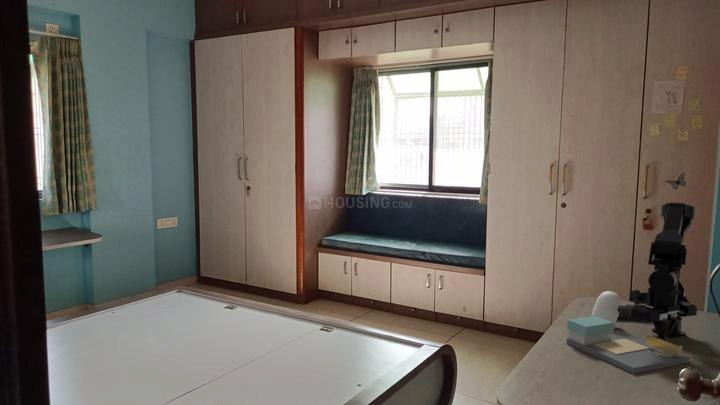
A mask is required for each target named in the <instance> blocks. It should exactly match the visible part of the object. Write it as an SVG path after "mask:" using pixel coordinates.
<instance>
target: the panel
mask: <svg viewBox="0 0 720 405" xmlns="http://www.w3.org/2000/svg"><path fill="white" fill-rule="evenodd" d="M646 342H647V339H646V340H645V339H644V338H640V337H638V336H635V335H632V334H630V333H627V332H625V331H622V330H620V329H617V330H613V333H606V334H600V335H594V336H587V337H584V336H582V335H580V334H577V333H575V332H572V331H570V330H568V337H566V342H565V343H566V345H570V346H571V347H573V348H576V349H578V350H580V351H582V352H584V353H587V354H589V355H591V356H593V357H596V358H598V359H600V360H601V361H605V362H606V363H609V364H611V365H613V366H615V367H618V368H620V369H622V370H624V371H625V372H628V373H631V374H632V375H635V374H638V373H644V372H648V371H655V370H659V369H660V370H661V369H665V368H670V367H673V365H674V366H676V365H677V364H678V365H681V364H680V363H682V362H685V363H687V362H686V361H689V362H690V356H689V355H685V354H683V353H682V356H679V357H677V356H675V355H672V354H670V353H667V354H661V353H659V349H657V348H654V347H651V346H649V345H646ZM682 364H683V363H682ZM669 366H670V367H669Z"/></svg>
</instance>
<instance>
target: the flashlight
mask: <svg viewBox="0 0 720 405" xmlns="http://www.w3.org/2000/svg"><path fill="white" fill-rule="evenodd" d="M639 305H644V306H647V305H646V304H638V305H635V304H625V305H624V304H620V305H619V307H618V309H617V311H618V312H619V316H618V318H617V319H627V320H633V321H634V320H635V321H642V320H641V319H638V318H635V317H632V316H630V309H631V308H632V307H633V306H639ZM647 307H649V306H647Z"/></svg>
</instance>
